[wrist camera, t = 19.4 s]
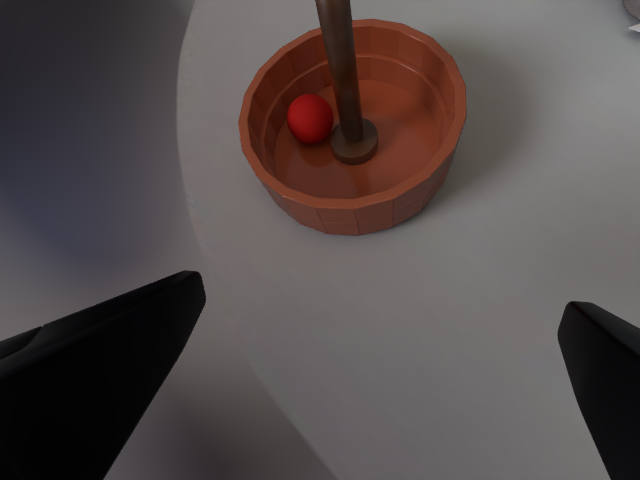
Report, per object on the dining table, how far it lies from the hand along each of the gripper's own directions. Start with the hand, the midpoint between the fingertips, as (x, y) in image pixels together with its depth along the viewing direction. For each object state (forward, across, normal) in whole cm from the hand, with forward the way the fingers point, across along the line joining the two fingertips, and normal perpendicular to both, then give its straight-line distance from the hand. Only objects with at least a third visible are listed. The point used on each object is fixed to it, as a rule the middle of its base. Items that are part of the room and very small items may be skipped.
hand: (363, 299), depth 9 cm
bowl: (+18, +2, 0) cm, 18 cm away
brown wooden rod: (+17, +2, 0) cm, 17 cm away
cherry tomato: (+17, +5, -2) cm, 18 cm away
